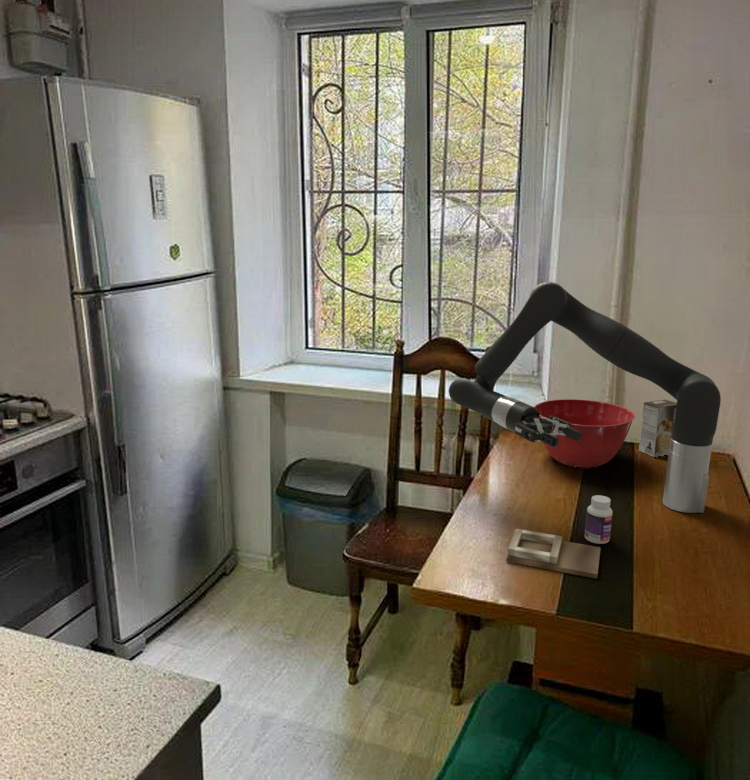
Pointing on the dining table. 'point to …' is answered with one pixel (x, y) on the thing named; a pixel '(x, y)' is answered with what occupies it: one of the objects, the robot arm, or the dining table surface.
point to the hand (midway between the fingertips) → (568, 440)
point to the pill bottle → (598, 520)
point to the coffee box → (657, 427)
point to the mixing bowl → (587, 430)
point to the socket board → (553, 553)
